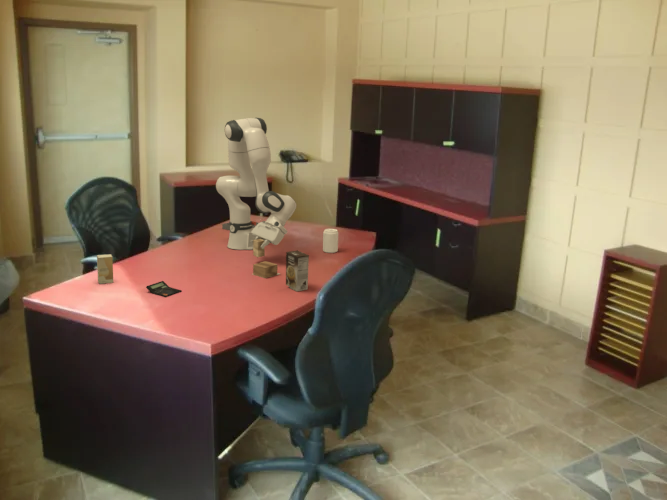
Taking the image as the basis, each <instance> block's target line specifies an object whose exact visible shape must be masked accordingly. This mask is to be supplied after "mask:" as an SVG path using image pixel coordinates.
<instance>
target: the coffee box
mask: <svg viewBox="0 0 667 500" xmlns="http://www.w3.org/2000/svg"><path fill="white" fill-rule="evenodd" d="M309 256H310V255H309V254H307V253H304V252H302V251H300V250H291V251H290V250H289V251H286V252H285V258H286V259H285V285H286V286H287V287H288V288H289V289H290V290H293V291H295V292H301V291H306V290H308V289H309V288H308V287H309V264H310V263H309V261H310V259H309V258H310V257H309Z"/></svg>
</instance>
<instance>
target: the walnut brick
mask: <svg viewBox="0 0 667 500" xmlns="http://www.w3.org/2000/svg"><path fill="white" fill-rule="evenodd" d="M252 266H253V267H252V269H253V270H252V274H253V276H255V277H256V276H257V277H259V278H263V279H268V278H271V276H272V277H275V276H278V275H277V273H278V264H277V263H273V262H270V261H266V260H265V261H260V262H257V263H254V264H252Z"/></svg>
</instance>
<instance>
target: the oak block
mask: <svg viewBox="0 0 667 500" xmlns="http://www.w3.org/2000/svg"><path fill="white" fill-rule="evenodd" d="M264 242H265V240H262V239H256V240H253V250H252V251H253V252H252V254H253V256H254V257H256V258H262V257H265V253H266V252H265V250H266V249H265V248H266V246H265V247H264V248H263V249H262V248H260V245H261V244H263V243H264Z"/></svg>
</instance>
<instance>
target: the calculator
mask: <svg viewBox="0 0 667 500" xmlns="http://www.w3.org/2000/svg"><path fill="white" fill-rule="evenodd" d="M145 288H146V289H147V290H148V292H149V293H151V294H152V295H155V296H159V297H161V298H162V297H164V298H168V297H170V296H173V295H176V294H179V293H182V291H183V290H181V289H178V288H174V287H172V286H171V287H170V286H169V285H168V284H167V283H166V282H165V281H163V280H161V281H158V282H156V283H153V284H149V285H146V287H145Z"/></svg>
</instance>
